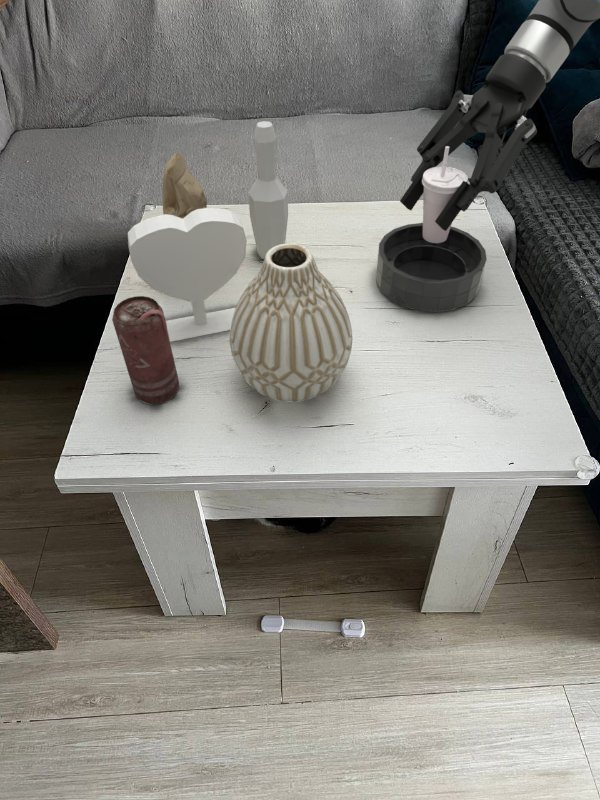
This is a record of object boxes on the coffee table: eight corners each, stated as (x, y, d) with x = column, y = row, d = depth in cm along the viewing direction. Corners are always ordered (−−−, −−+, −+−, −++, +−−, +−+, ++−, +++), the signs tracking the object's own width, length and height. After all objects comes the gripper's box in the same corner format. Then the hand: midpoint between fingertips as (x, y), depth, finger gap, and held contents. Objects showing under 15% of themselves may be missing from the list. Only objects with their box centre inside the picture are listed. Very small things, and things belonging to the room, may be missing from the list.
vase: (213, 370, 85) (193, 248, 70) (303, 326, 91) (302, 205, 77) (278, 440, 76) (271, 317, 61) (373, 386, 82) (387, 262, 68)
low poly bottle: (287, 241, 107) (283, 114, 91) (291, 261, 103) (288, 132, 87) (251, 243, 107) (241, 116, 91) (254, 264, 102) (244, 134, 86)
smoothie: (405, 231, 93) (418, 141, 83) (440, 221, 95) (456, 132, 85) (428, 252, 89) (444, 160, 79) (464, 241, 91) (484, 151, 81)
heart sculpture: (247, 305, 95) (237, 199, 82) (254, 325, 92) (245, 218, 78) (148, 324, 92) (121, 218, 79) (152, 345, 89) (125, 238, 75)
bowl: (497, 280, 99) (506, 248, 94) (440, 329, 91) (447, 297, 86) (414, 242, 106) (419, 212, 102) (355, 284, 98) (357, 253, 94)
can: (179, 405, 80) (161, 324, 70) (132, 407, 80) (106, 326, 70) (183, 373, 84) (166, 292, 74) (137, 375, 84) (114, 294, 74)
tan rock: (206, 299, 96) (188, 180, 81) (162, 295, 97) (136, 177, 82) (225, 254, 105) (212, 139, 90) (185, 250, 105) (165, 136, 91)
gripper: (591, 106, 80) (482, 255, 85) (479, 66, 90) (388, 200, 96) (580, 72, 74) (463, 234, 79) (461, 33, 84) (365, 178, 90)
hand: (422, 215), depth 87 cm, fingers closed on smoothie, 6 cm apart
